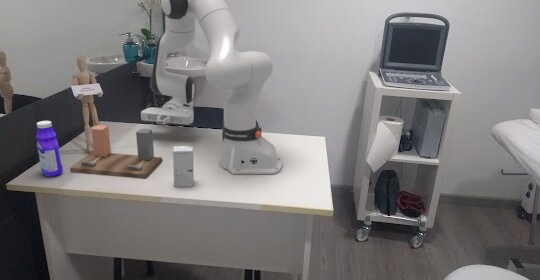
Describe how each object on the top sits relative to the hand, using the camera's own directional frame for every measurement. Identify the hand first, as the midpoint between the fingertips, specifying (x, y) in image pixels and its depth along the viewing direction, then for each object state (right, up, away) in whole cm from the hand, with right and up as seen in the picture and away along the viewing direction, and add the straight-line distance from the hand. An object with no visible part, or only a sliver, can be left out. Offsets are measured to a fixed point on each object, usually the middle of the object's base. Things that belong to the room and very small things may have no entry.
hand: (160, 122), depth 153 cm
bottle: (-29, -18, -21) cm, 40 cm away
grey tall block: (-2, -13, -11) cm, 17 cm away
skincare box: (+14, -21, -25) cm, 35 cm away
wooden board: (-10, -16, -15) cm, 24 cm away
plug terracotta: (-18, -12, -10) cm, 23 cm away
